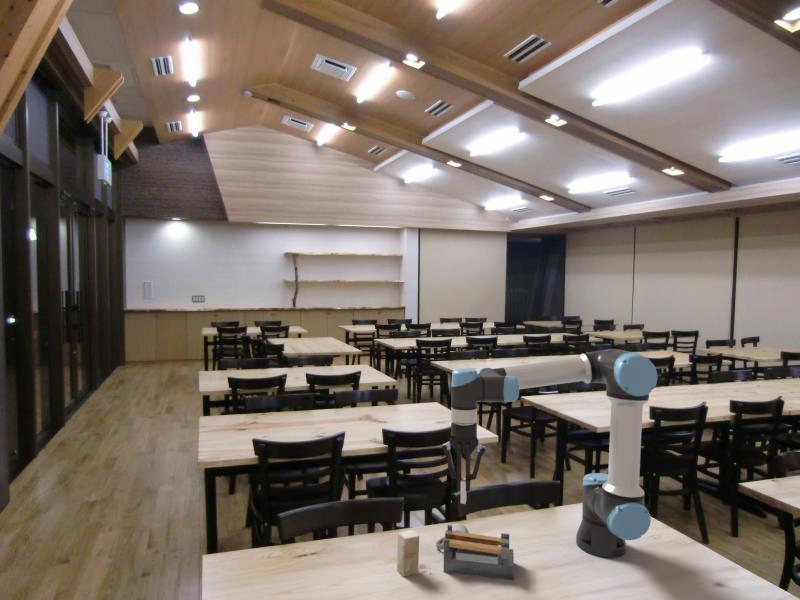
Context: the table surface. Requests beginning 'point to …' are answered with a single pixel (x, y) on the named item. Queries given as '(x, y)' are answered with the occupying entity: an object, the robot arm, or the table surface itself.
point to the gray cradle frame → (483, 562)
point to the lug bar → (448, 550)
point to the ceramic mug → (455, 527)
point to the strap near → (475, 546)
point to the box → (408, 553)
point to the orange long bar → (475, 538)
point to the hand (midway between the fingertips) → (463, 501)
